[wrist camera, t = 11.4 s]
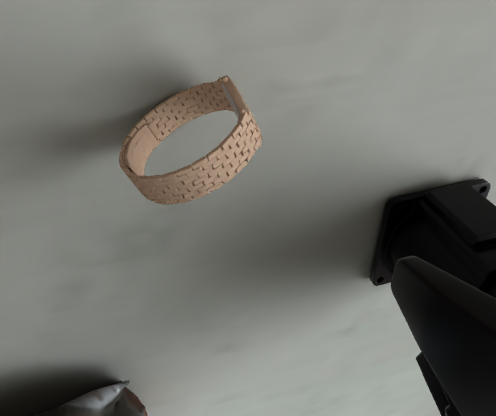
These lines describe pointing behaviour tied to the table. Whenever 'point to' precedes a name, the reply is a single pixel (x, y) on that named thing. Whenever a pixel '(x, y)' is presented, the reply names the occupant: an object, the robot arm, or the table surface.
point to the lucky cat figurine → (102, 403)
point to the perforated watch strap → (229, 151)
